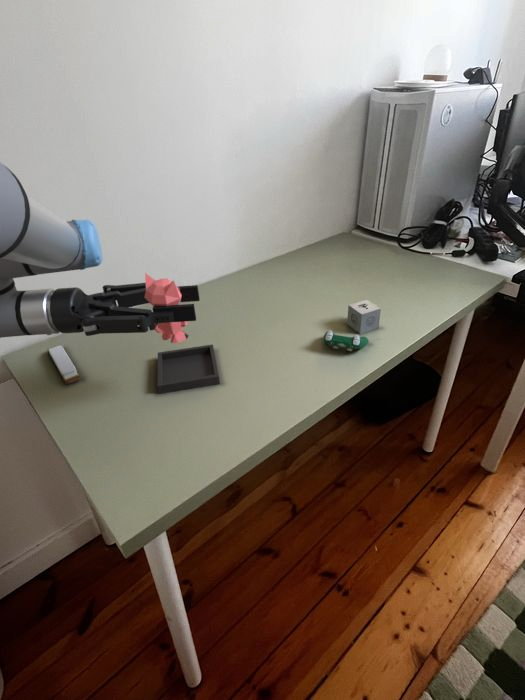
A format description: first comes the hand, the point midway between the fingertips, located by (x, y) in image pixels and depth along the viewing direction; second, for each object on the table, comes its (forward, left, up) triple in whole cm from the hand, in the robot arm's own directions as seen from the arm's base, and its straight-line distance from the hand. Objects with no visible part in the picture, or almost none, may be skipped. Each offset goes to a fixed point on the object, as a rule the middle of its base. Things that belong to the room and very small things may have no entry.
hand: (196, 302), depth 72 cm
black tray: (-4, +7, -18) cm, 20 cm away
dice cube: (+36, +14, -18) cm, 43 cm away
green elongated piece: (+29, +7, -18) cm, 35 cm away
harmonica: (-29, +15, -18) cm, 38 cm away
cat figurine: (-5, +1, -7) cm, 8 cm away
